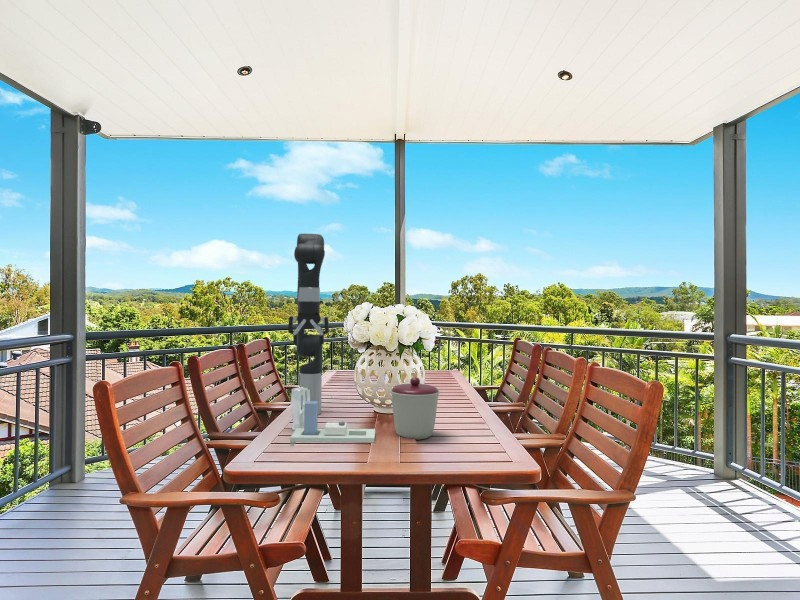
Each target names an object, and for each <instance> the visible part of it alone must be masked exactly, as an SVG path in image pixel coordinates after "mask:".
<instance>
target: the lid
mask: <svg viewBox="0 0 800 600" xmlns="http://www.w3.org/2000/svg"><path fill="white" fill-rule="evenodd" d="M324 429H325V435H345V434H346V431H347V429H348V422H345V421H339V422H333V421H332V422H326V423H325V426H324Z"/></svg>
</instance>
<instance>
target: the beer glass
mask: <svg viewBox="0 0 800 600" xmlns="http://www.w3.org/2000/svg"><path fill="white" fill-rule="evenodd" d="M290 395H291V396H290V401H291V402H290V405H291V411H292V418H293V419H292V427H291V430H292V431H294V430H296V428H304V405H305V402H306V401H310V389H309V388H305V387H299V386H297V387H293V388H292V389H291V394H290Z"/></svg>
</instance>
